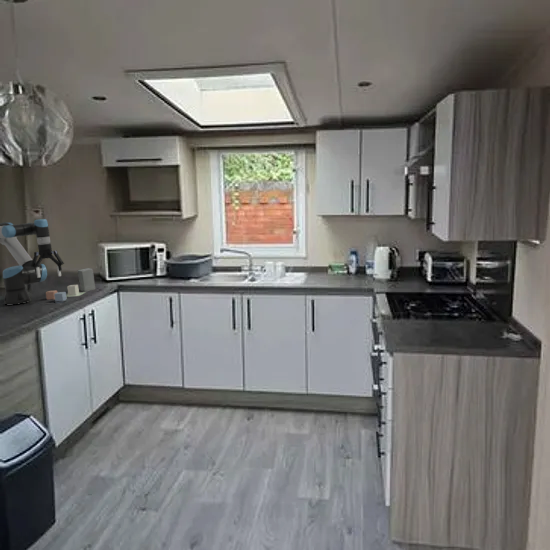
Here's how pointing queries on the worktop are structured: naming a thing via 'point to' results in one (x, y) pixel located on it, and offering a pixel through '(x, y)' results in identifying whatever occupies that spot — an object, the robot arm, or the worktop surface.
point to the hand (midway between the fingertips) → (49, 276)
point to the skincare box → (86, 279)
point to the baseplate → (76, 295)
